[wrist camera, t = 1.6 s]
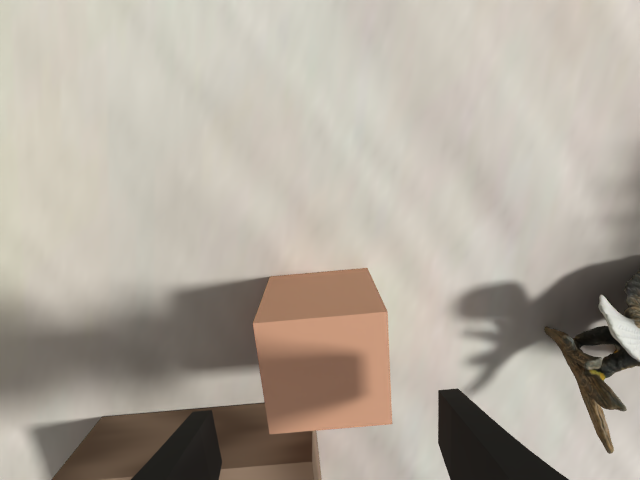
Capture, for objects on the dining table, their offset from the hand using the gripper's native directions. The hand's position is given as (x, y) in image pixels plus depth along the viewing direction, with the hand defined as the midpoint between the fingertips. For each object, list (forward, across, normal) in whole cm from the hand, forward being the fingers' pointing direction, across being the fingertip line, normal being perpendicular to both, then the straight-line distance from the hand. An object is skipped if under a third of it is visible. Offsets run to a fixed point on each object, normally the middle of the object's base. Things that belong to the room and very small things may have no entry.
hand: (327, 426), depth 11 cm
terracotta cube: (+8, 0, 0) cm, 8 cm away
